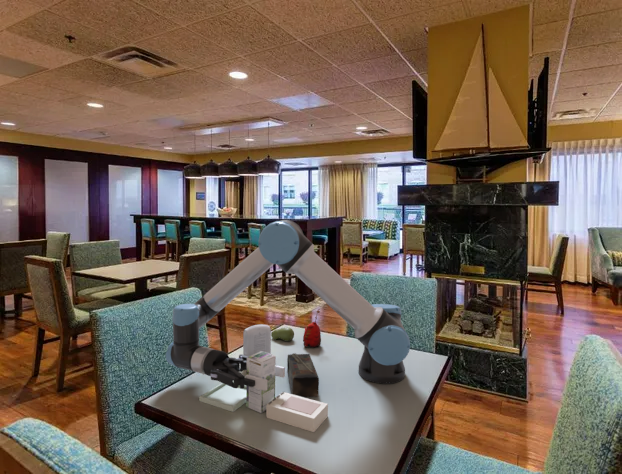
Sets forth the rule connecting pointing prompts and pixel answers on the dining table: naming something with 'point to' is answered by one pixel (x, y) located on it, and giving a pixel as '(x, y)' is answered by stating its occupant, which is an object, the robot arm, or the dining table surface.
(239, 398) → the tray
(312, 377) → the beverage carton
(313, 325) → the red clay folk toy
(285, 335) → the pear
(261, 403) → the syrup box
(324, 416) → the pink-topped slotted block
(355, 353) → the dining table surface
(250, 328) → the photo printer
